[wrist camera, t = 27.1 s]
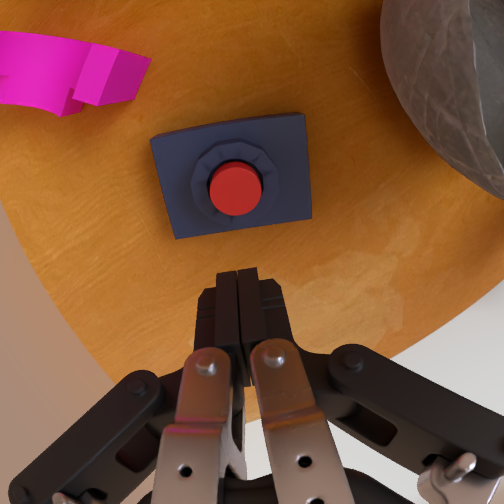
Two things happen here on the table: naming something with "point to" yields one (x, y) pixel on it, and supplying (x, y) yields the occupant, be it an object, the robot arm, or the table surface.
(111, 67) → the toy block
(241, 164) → the button
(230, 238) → the table surface
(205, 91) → the table surface
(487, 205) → the table surface
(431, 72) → the bowl
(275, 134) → the button box
